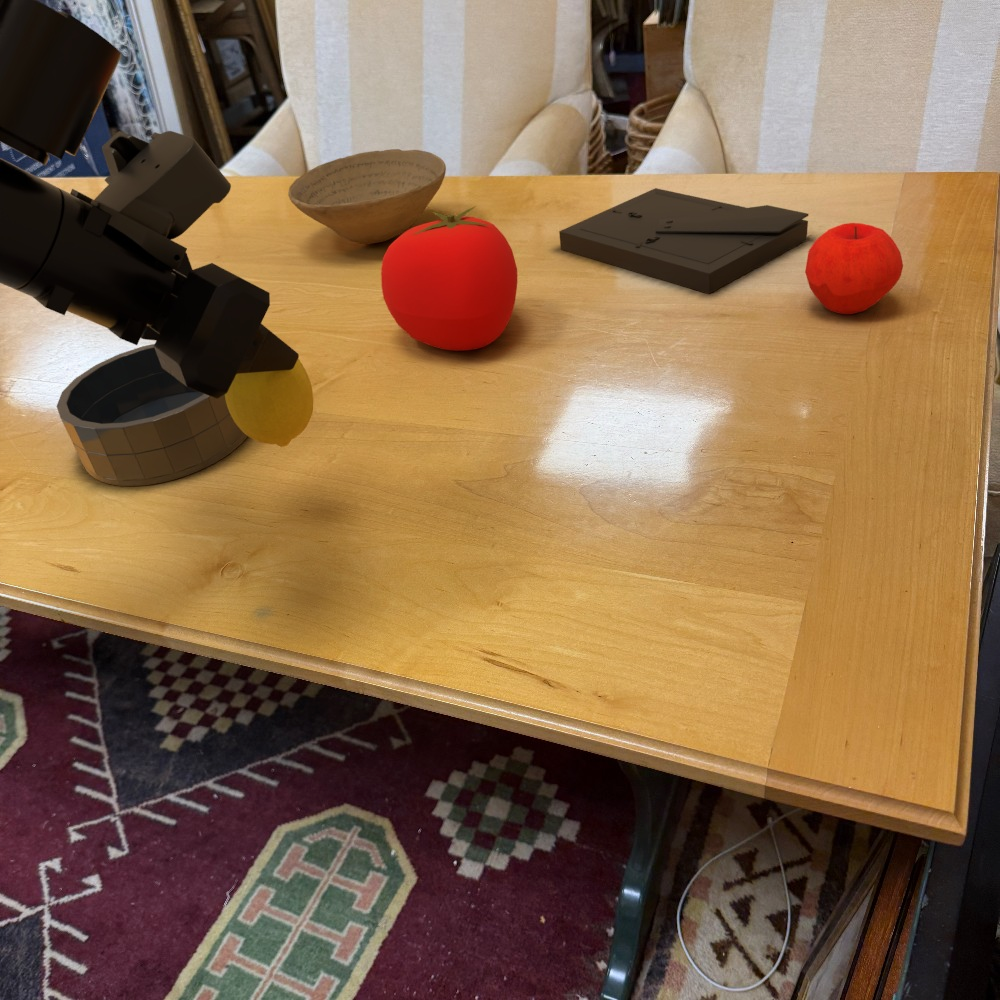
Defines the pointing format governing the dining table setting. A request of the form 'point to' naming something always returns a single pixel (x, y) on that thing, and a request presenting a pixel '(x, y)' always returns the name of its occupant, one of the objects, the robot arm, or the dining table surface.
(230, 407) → the lemon
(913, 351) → the dining table surface
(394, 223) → the bowl
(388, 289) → the tomato
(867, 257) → the apple
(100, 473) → the pot
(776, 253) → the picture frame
